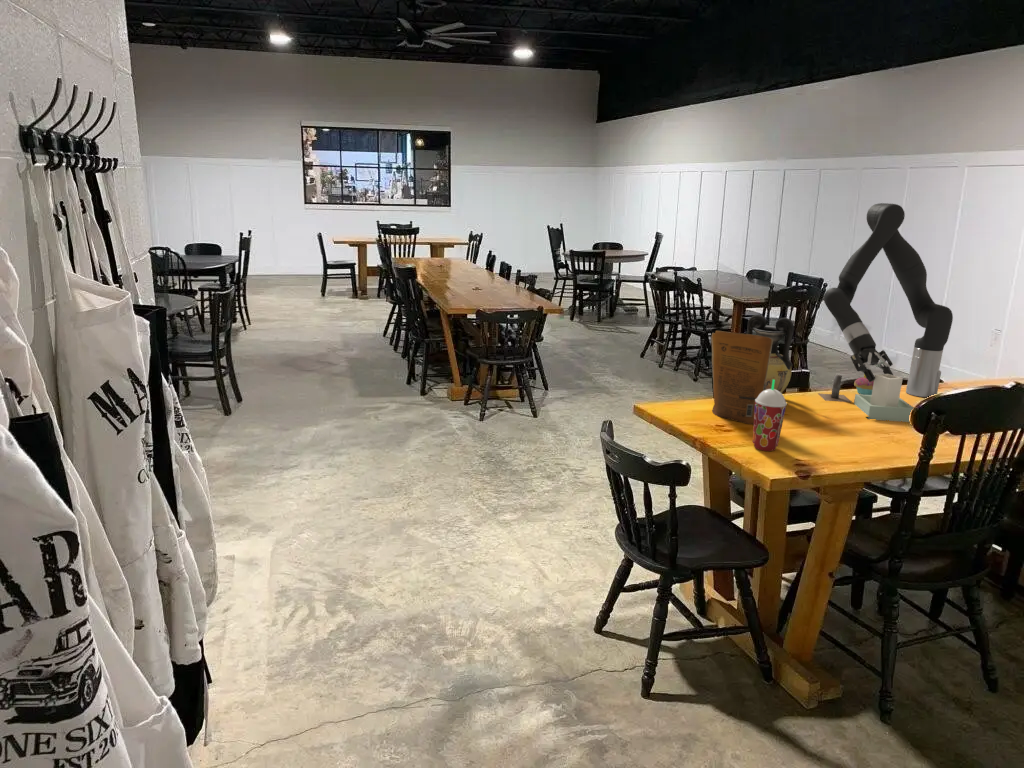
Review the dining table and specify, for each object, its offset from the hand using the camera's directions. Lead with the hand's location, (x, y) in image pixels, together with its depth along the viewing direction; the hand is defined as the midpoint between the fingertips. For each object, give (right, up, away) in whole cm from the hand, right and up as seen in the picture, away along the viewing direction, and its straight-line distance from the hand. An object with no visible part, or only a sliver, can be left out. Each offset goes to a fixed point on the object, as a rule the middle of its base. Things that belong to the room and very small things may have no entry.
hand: (882, 379), depth 240 cm
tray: (0, -11, +1) cm, 12 cm away
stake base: (-10, -7, +14) cm, 19 cm away
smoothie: (-51, -20, -35) cm, 65 cm away
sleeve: (0, -10, +1) cm, 11 cm away
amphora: (-37, -8, +10) cm, 39 cm away
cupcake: (+5, -6, +22) cm, 23 cm away
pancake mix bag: (-52, -13, -9) cm, 54 cm away
